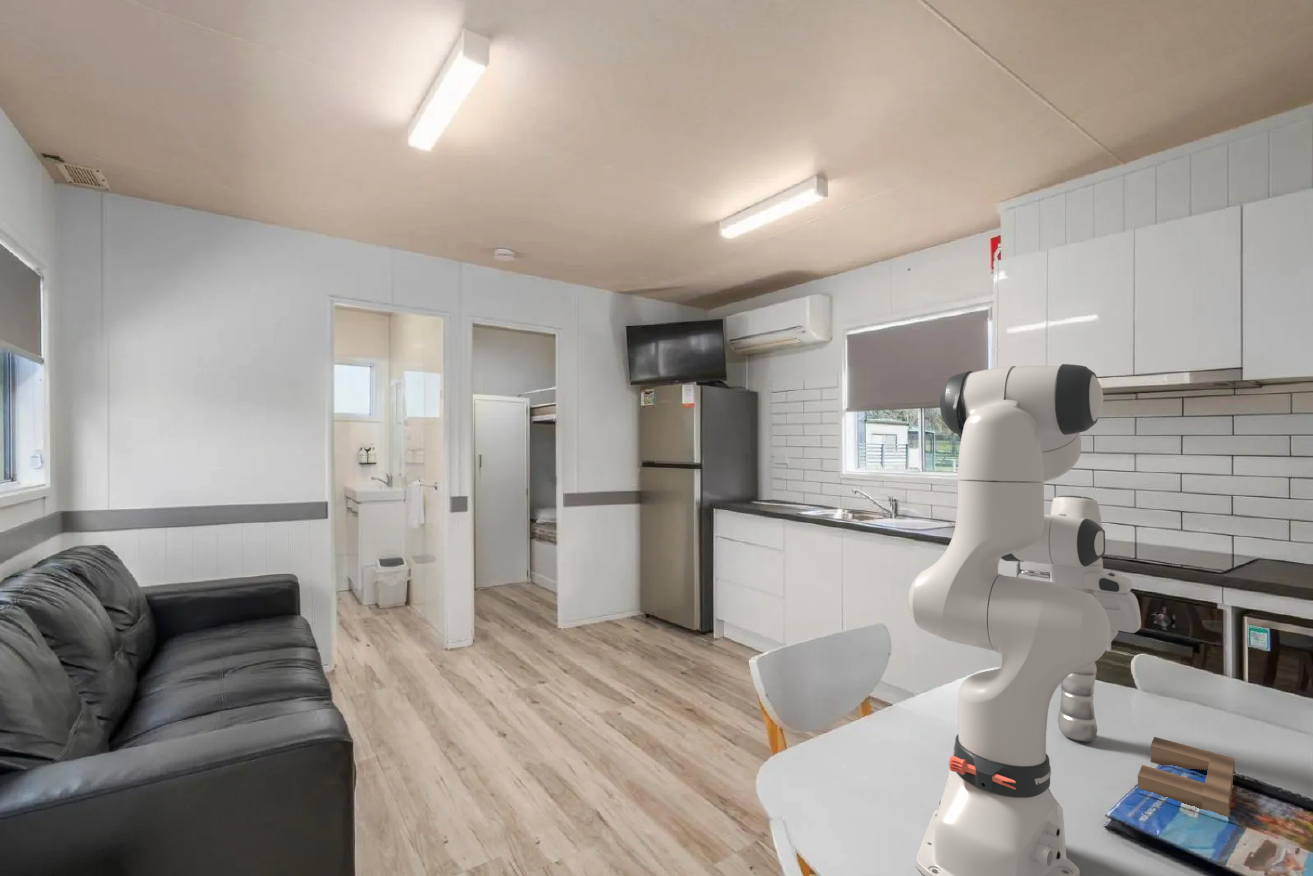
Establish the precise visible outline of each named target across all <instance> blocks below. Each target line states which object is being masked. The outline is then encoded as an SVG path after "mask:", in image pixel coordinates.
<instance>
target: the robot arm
mask: <svg viewBox="0 0 1313 876" xmlns="http://www.w3.org/2000/svg"><path fill="white" fill-rule="evenodd" d="M939 397H940V398H939V408H940V414H941V418H942V421H943V422H944V424H945V426H946V427H947V428H948V429H949V430H950V432H952V433H954V434H956V435H957V436H958V437H959V439H960V444H959V451H958V461H957V463H958V464H957V500H956V514H955V515H956V516H955V525H954V531H953V534H952V537H951V539H950V542H949V544H948V545H947V548H946V550H945V551H944V552H943V554H942V555H941V556H940V557H939V559H937V560H936V562H934V563H933V564H932V565H930V566H929V567H927V568H926V569H923V570H922V571H921V572H920V573H919V574H917V576H916V577H915V578H914V579H913V581H912V582H911V585H910V587H909V589H908V594H907V604H908V609H909V613H910V615H911V618H912V620H913V621H914V623H915V624H916V626H917V627H918V628H919V629H920V630H922V631H925V632H928V633H930V634H932V635H934V636H937V637H939V638H941V639H944V640H946V641H948V642H953V643H957V644H963V645H967V646H972V647H976V648H980V649H984V650H989V651H993V652H996V653H999V654H1001V666H1000V667H999V668H996V669H990V670H985V671H982V672H978V673H975V674H972V675H970V676H969V677H967V678H965V680H964V681H963V682H962V683H961V685H960V687H959V688H958V692H957V699H958V700H957V705H958V707H957V708H958V709H957V710H958V711H957V713H958V714H957V719H958V720H957V723H958V724H957V726H958V729H957V730H958V731H957V733H958V734H957V735H956V736H955V738H954V739H955V742H954V745H953V751H952V754H951V756H950V757H949V760H948V769H949V773H948V776H947V779H946V783H945V785H944V786H945V787H944V789H943V792H942V793H943V794H942V796H941V799H940V800H939V806H938V808H937V809H934V811H933V813H932V816H931V819H930V821H929V823H928V826H927V828H926V831H925V834H924V837H923V839H922V842H921V844H920V847H919V850H918V852H917V856H916V858H915V867H916V869H917V870H918V871H919V872H921V874H923V875H924V876H1081V871H1080V869H1079V867H1078V866H1077V865H1076V864H1075V863H1074V862H1072V860H1070V859H1069V858H1068V857H1067V850H1066V835H1065V833H1066V832H1065V819H1064V809H1063V807H1062V806H1061V804H1060V803H1059V801H1058V800H1057V799H1056V798H1055V797H1054V795H1053V793H1052V791H1051V789H1050V786H1051V774H1052V766H1051V764H1050V757H1049V754H1048V753H1047V727H1048V715H1049V708H1050V703H1051V700H1052V697H1053V695H1054V693H1055V692H1056V690H1057V688H1059V686H1060V685H1061V682H1062V681H1063V680H1064V679H1065V678H1066V677H1068V676H1069V675H1070V674H1072V673H1073V672H1075V671H1077V670H1078V669H1081V668H1083V667H1086V666H1088V665H1090V664H1092V663H1094V662H1095V663H1096V662H1097V661H1098V660H1099V659H1100V658H1102V656H1103V655H1104V653H1105V652H1108V653H1110V652H1111V651H1112V642H1113V640H1114V639H1115V638H1116V637H1117V635H1118V634H1119V632H1125V633H1130V634H1135V633H1137V632H1138V631H1139V630H1140V629H1141V627H1142V616H1141V610H1140V605H1139V600H1138V598H1137V596H1136V595H1135V593H1133V592H1132V589H1133V588H1132V587H1133V581H1132V579H1131V578H1129V577H1126V576H1124V575H1122V574H1118V573H1115V572H1113V571H1110V570H1108V569H1105V568H1104V564H1103V563H1104V561H1103V557H1104V556H1105V553H1106V531H1105V529H1103V526H1102V517H1101V513H1100V508H1099V507H1100V506H1099V504H1098V503H1099V502H1098V501H1097V500H1095V499H1094V498H1091V497H1088V496H1080V495H1058V496H1056V497H1053V499H1052V502H1051V507H1050V514H1045V483H1047V482H1049V481H1053V480H1055V479H1058V478H1060V477H1061V476H1063V475H1065V474H1067V472H1070V470H1071V469H1073V468H1074V466H1075V465H1077V462H1078V461H1079V459H1080V456H1081V453H1082V438H1081V433H1083V432H1086V431H1088V430H1089V429H1091V428H1093V427H1094V425H1096V424H1097V422H1098V419H1099V416H1100V415H1101V412H1102V410H1103V406H1104V391H1103V387H1102V385H1101V383H1100V381H1099V380H1098V377H1097V374H1096V373H1095V372H1094V371H1093V370H1091V369H1089V368H1088V367H1087V366H1085V365H1079V364H1067V363H1062V364H1061V365H1059V366H1058V365H1057V366H1056V365H1029V366H1028V365H1026V366H1015V365H1011V366H1001V367H994V368H988V369H983V370H978V371H972V370H968V371H964V372H961V373H957V374H954V375H951V376H950V377H949V378H948V379H947V381H946V382H945V383H944V384H943V386H942V388H941V392H940V396H939ZM1001 559H1002V560H1003V561H1005V562H1021V563H1022V562H1027V563H1028V562H1029V563H1036V564H1046V565H1049V572H1048V571H1039V570H1033V569H1025V571H1021V572H1020V573H1018V575H1017V577H1016V576H1011V575H1010V576H1009V575H1003V574H1000V573H999V565H1000V562H1001V561H1000V560H1001Z"/></svg>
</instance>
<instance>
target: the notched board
mask: <svg viewBox="0 0 1313 876" xmlns="http://www.w3.org/2000/svg"><path fill="white" fill-rule="evenodd" d="M1150 762H1151V763H1153V764H1157V765H1161V766H1163V765H1173V766H1178V767H1182V768H1185V769H1198V770H1199V769H1200V770H1201V769H1202V770H1203V769H1204V770H1205V769H1206V770H1207V769H1208V770H1207V775H1206V778H1205V779H1204V780H1205V781H1204V782H1203V781H1199V780H1195V779H1193V778H1189V777H1185V776H1182V775H1178V774H1175V773H1171V772H1169V771H1165V770H1163V769H1162V770H1161V769H1159V768H1155V767H1152V766H1147V765H1145V764H1141V767H1140V769H1139V770H1138V773H1137V789H1138V788H1140V789H1142V790H1145V791H1148V792H1153V793H1156V794H1158V795H1161V796H1163V797H1168V798H1171V799H1173V800H1175V801H1180V802H1182V803H1184V804H1187V805H1190V806H1195V807H1197V808H1199V809H1204V810H1210V811H1213V812H1215V813H1218V814H1220V815H1224V816H1227V817H1228V818H1229V819H1230V817H1229V810H1230V811H1231V809H1230V802H1231V803H1232V801H1231V793H1232V784H1233V774H1235V775H1236V772H1235V768H1236V767H1235V758H1234V757H1230V756H1227V755H1224V754H1220V753H1217V752H1213V751H1209V750H1206V749H1202V748H1197V747H1194V746H1190V745H1186V744H1183V743H1179V742H1175V741H1172V740H1168V739H1164V738H1160V737H1157V736H1154V737H1153V739H1152V741H1151V743H1150ZM1232 794H1233V793H1232Z"/></svg>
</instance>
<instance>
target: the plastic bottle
mask: <svg viewBox="0 0 1313 876" xmlns="http://www.w3.org/2000/svg"><path fill="white" fill-rule="evenodd" d="M1097 670H1098V668H1097V665H1096V661H1095V662H1094V663H1092V664H1090V665H1088V666H1086V667H1083V668H1081V669H1078V670H1077V671H1075V672H1073V673H1072V674H1070V675H1069V676H1068V677H1066V678H1065V679H1064V680H1063V681H1062V682H1061V683H1060V688H1061V689H1060V691H1061V697H1060V708H1059V711H1058V712H1059V713H1058V716H1057V725H1058V730H1060V732H1061V734H1062V735H1064V736H1065V737H1067V738H1069V739H1071V740H1074V741H1078V742H1083V743H1084V742H1085V743H1086V742H1087V743H1088V742H1089V743H1091V742H1092V741H1094V740H1095V739H1096V738H1097V734H1098V726H1097V725H1098V724H1097V720H1096V717H1095V715H1096V714H1095V707H1094V694H1095V684H1096V678H1097Z"/></svg>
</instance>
